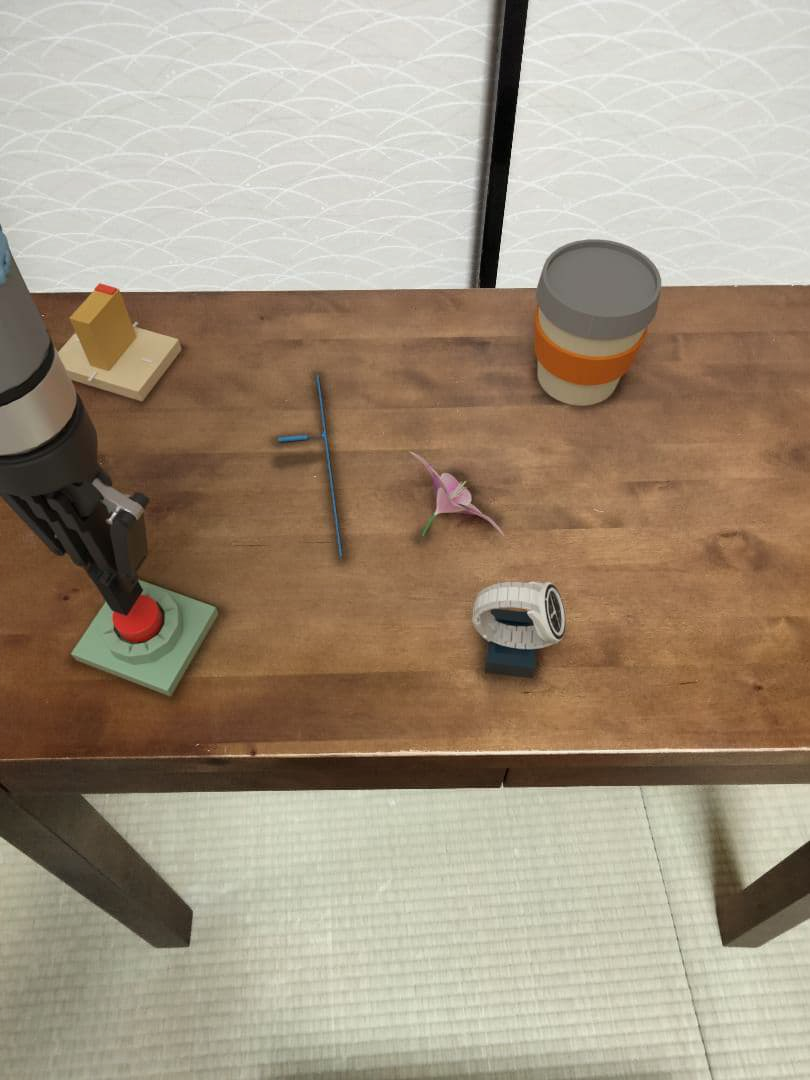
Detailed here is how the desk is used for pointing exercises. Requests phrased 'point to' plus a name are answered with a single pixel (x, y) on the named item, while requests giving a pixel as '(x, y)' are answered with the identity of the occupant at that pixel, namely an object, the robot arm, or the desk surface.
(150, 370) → the plate
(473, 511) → the lily
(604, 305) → the reusable coffee cup
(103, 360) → the thumbturn
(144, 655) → the green button mount
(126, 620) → the bell button
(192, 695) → the desk surface
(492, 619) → the watch
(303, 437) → the blue squeegee
